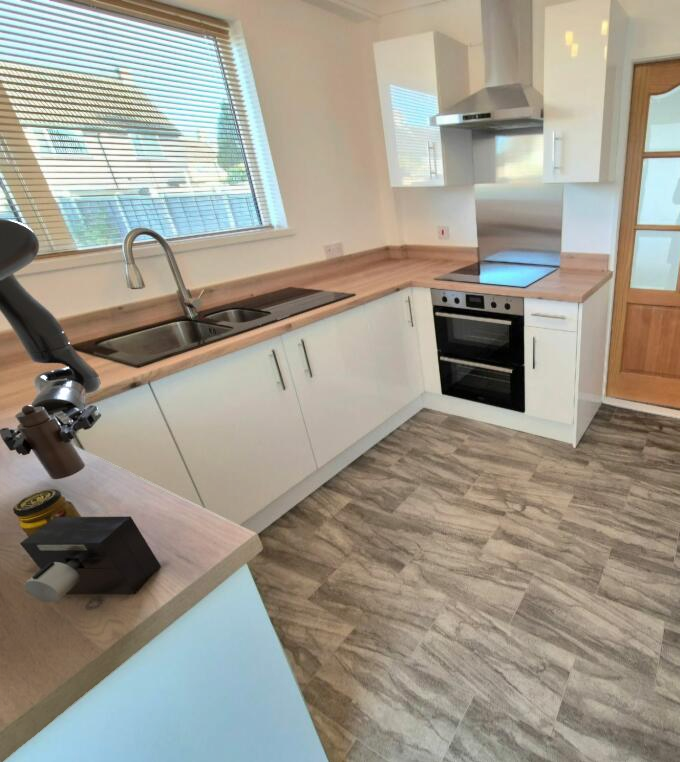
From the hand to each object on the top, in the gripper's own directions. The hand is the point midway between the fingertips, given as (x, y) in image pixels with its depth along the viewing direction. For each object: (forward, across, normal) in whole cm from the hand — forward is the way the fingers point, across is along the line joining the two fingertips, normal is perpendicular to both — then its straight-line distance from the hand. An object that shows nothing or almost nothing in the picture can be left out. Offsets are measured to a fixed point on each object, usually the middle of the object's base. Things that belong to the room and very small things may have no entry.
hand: (44, 443), depth 75 cm
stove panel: (+26, +5, +15) cm, 30 cm away
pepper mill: (-3, 0, +8) cm, 8 cm away
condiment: (+14, 0, +15) cm, 20 cm away
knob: (+29, +2, +10) cm, 31 cm away
